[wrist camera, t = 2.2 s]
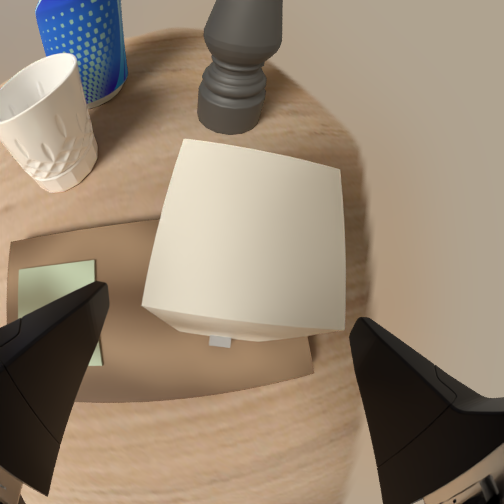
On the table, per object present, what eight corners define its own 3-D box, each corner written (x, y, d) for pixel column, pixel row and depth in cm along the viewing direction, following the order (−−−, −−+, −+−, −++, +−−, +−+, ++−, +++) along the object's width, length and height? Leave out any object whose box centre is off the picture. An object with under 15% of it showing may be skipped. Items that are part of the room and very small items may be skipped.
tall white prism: (257, 350, 17) (343, 352, 6) (178, 340, 16) (137, 331, 6) (266, 258, 19) (338, 155, 8) (192, 247, 18) (188, 125, 8)
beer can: (59, 123, 21) (19, 2, 6) (68, 83, 24) (45, -17, 9) (130, 101, 24) (117, -34, 9) (128, 65, 26) (122, -42, 11)
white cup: (58, 215, 18) (-1, 139, 9) (22, 175, 19) (-23, 108, 9) (120, 151, 21) (96, 61, 12) (77, 122, 22) (51, 48, 12)
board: (306, 371, 18) (347, 378, 12) (25, 393, 13) (-21, 400, 7) (274, 217, 22) (298, 173, 16) (19, 248, 17) (-20, 218, 11)
